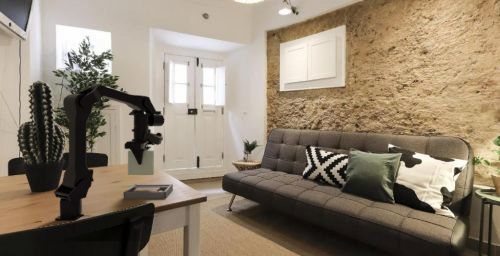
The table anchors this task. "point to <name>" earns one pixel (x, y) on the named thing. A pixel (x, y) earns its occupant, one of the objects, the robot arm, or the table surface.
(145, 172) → the board
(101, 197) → the table surface
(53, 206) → the table surface
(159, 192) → the rack
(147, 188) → the offcut top
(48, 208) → the table surface
